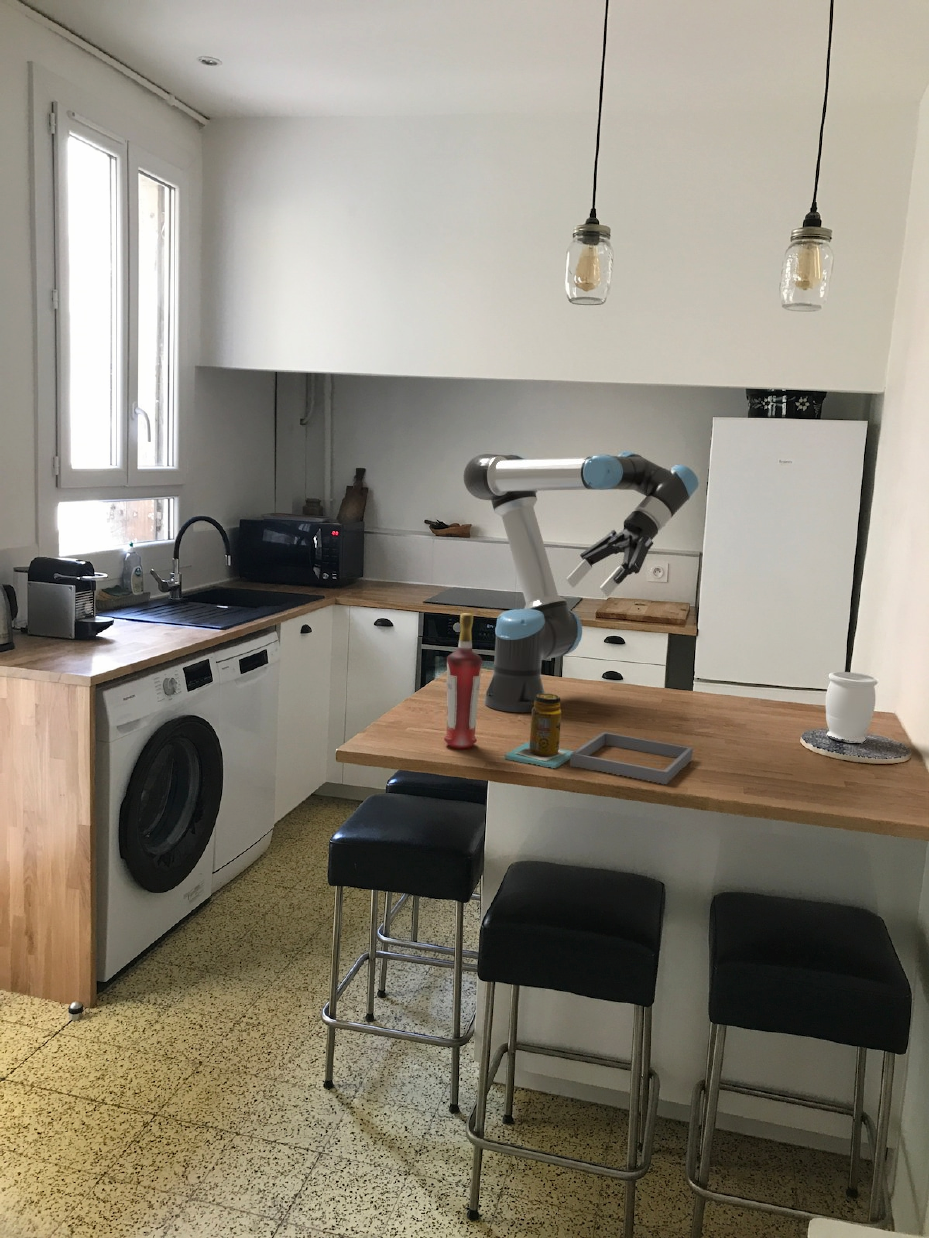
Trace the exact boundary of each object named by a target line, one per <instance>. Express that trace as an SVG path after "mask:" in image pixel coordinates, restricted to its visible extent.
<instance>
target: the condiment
mask: <svg viewBox="0 0 929 1238" xmlns="http://www.w3.org/2000/svg"><path fill="white" fill-rule="evenodd" d="M530 717H531V718H530V733H529V743H530V745H529V747H530V748H527V749H523V750H521V751H517V752H515V753H518V754H520V755H524V756H526V757H531V758H532V759H533V758H534V759H538V760H543V761H547V760H550V759H552V758H554V757H557V756H559V755H562V754H564V753H566V752H565V751H560V750H559V749H560V737H561V722H562V710H561V696H559V695H556V694H553V693H545V694H537V695H535V702H534V707H533V709H532V712H531V716H530Z"/></svg>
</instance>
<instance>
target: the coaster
mask: <svg viewBox="0 0 929 1238" xmlns="http://www.w3.org/2000/svg"><path fill="white" fill-rule="evenodd" d="M529 745H530V742H524V743H523V744H522V745H519V746H517V747H516V748H514V749H513V750H511V751H509V752H507V753H506V754H504V759H505V760H509V761H513V760H514V762H519V763H524V764H528V763H531V764H530V765H533V764H536V765H535V766H538V765H540V766H539V767H543V768H548V767H551V768H550V769H553V768H556V767H557V768H559V767H560V766H561V764H562V765H563V764H564V763H566V762H567V761H570V757H571V753H573V752H574V751H575V750H574V751H573V750H569V749H563V748H559V750H560V751H565V752H566V753H564V754H562V755H559V756H557V757H554V758H552V759H550V760H547V761H543V760H538V759H534V758H533V759H532V758H531V757H526V756H524V755H520V754H518V753H515V752H517V751H521V750H523V749H527V748H530V747H529ZM557 768H556V769H557Z"/></svg>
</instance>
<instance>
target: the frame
mask: <svg viewBox="0 0 929 1238" xmlns="http://www.w3.org/2000/svg"><path fill="white" fill-rule="evenodd" d="M605 745H606V746H610V747H616V748H622V749H627V750H631V751H639V752H644V753H649V754H655V755H659V756H665V757H671V758H676V759H675V760H673V762H671V764H669V765H668V766H667V767H666V768H664V770H663V769H660V768H659V769H657V768H654V767H653V768H652V767H648V766H647V767H646V766H643V765H638V764H633V763H628V762H627V763H626V762H623V761H617V760H611V759H606V758H601V757H596V756H591V755H592V754H593V753H595V752H596V751H598V750H599V749H601V748H602V747H603V746H605ZM693 750H694V748H693V747H689V746H683V745H677V744H673V743H668V742H661V741H657V740H651V739H645V738H638V737H635V736H634V737H633V736H627V735H622V734H619V733H618V734H616V733H612V732H606V731H603V732H601V733H600V734H598V735H597V736H595V737H594V738H593V739H591V740H589V741H588V742H586V743H585V744H583V745H582V746H580V747H579V748H578V749H576V750H574V752H573V753H571V757H570V759H569V767H573V768H578V767H582V768H581V769H583V768H586V769H585V770H588V769H589V770H588V771H593V770H598V771H602V772H601V773H603V772H606V773H605V774H608V773H614V774H619V775H623V776H622V777H624V776H627V777H626V778H629V777H634V778H638V779H637V780H639V779H642V780H641V781H644V780H650V781H654V782H657V783H656V784H659V783H661V784H660V785H664V784H666V785H668V784H669V783H670V781H671V780H672V779H674V777H676V775H678V774H679V771H680V770H683V769H684V768H685V767H686V766H687V765H688V764H689V763H690V762H691V761H692V760H693V752H694V751H693ZM687 763H688V764H687ZM683 767H684V768H683ZM682 768H683V769H682ZM598 771H597V772H598ZM680 772H681V771H680ZM614 774H613V775H614ZM619 775H618V776H619ZM634 778H633V779H634ZM669 780H670V781H669ZM654 782H653V783H654Z"/></svg>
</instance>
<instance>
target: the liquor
mask: <svg viewBox="0 0 929 1238" xmlns="http://www.w3.org/2000/svg"><path fill="white" fill-rule="evenodd" d="M473 624H474V614H473V613H460V615H459V625H460V627H459V628H460V632H459V638H458V639H459V640H458V647H457V650H456V651H453V652H452V653H450V654H449V655H448V656H446V735H445V736H444V739H443V740H444V742H445V743H446V744H447V745H448V746H449V747H450V746H451V747H450V748H452V747H453V748H452V749H455V748H457V750H466V749H470V748H471V747H473V746H474V745H475V744H476V743H477V741H478V740H477V738H476V724H477V713H478V703H479V701H478V700H479V693H480V686H481V676H482V675H481V674H482V666H483V665H482V664H483V658H482V657H481V656H480V655H479V654H478V653H476V652H474V651H473V642H472V641H473V640H472V638H473V637H472V628H473Z"/></svg>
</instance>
